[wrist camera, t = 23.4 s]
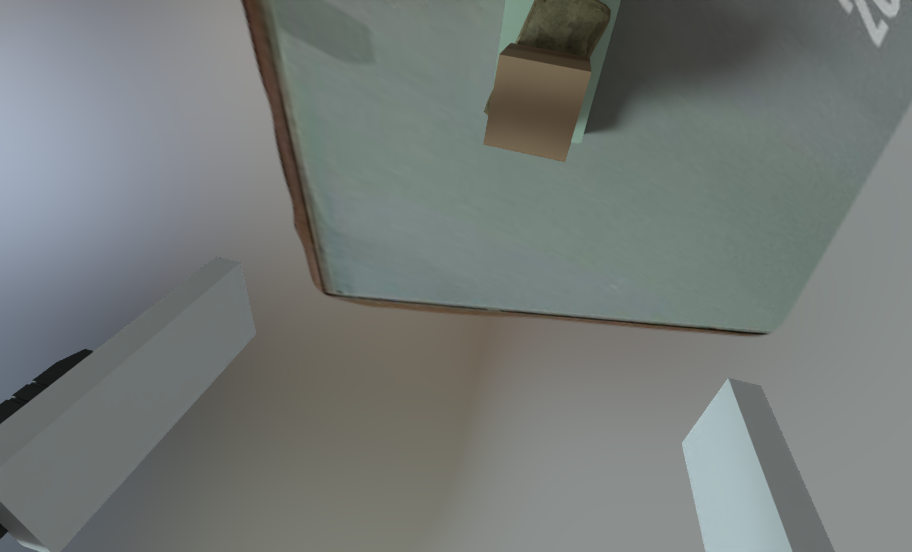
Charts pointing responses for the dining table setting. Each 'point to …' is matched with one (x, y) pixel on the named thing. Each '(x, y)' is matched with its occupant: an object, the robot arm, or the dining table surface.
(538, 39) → the stone block
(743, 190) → the dining table surface
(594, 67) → the base slab
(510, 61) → the walnut cube
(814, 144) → the dining table surface
